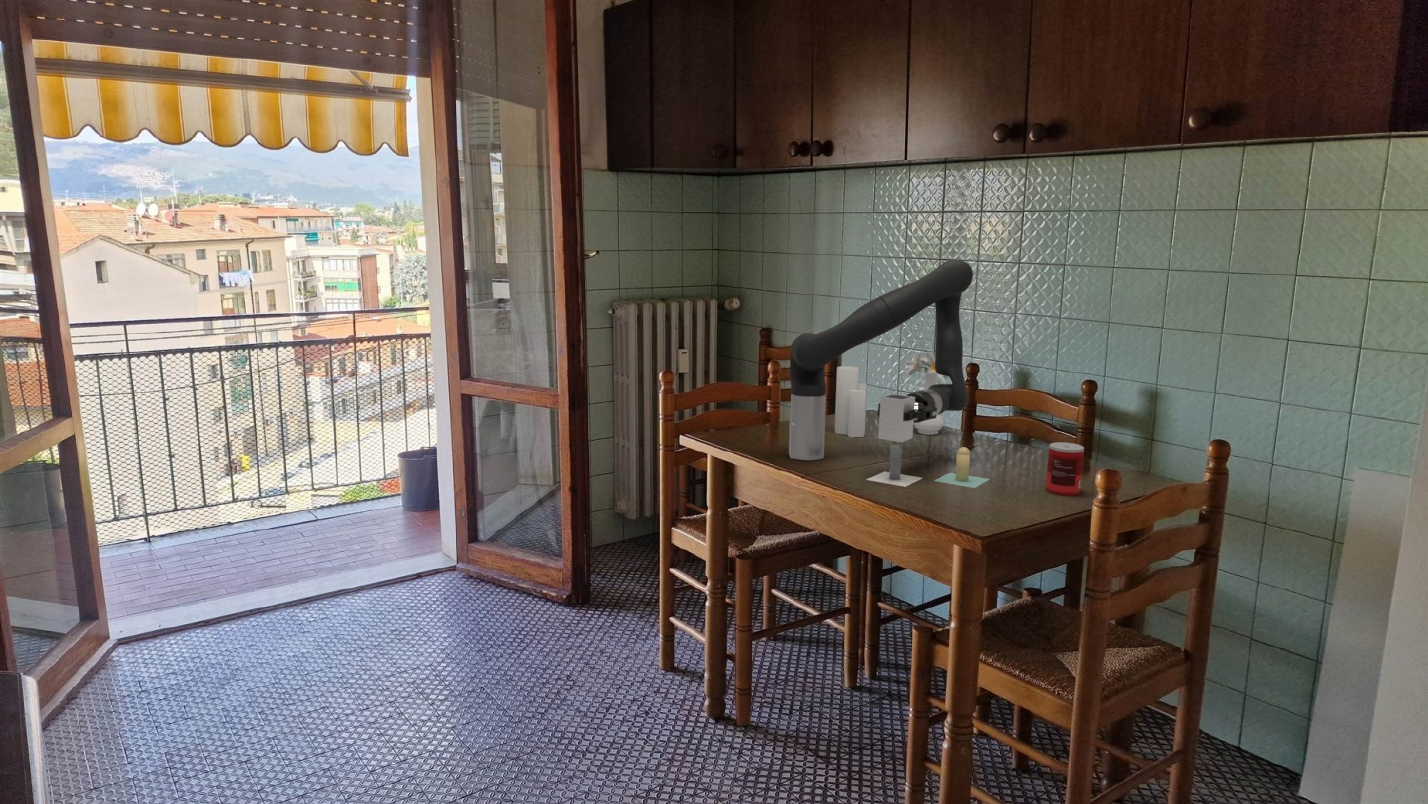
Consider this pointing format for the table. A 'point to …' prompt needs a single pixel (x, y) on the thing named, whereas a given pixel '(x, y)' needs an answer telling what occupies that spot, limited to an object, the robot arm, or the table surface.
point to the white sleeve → (895, 417)
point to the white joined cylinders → (850, 403)
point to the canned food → (1064, 468)
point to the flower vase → (930, 378)
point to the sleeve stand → (895, 471)
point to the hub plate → (967, 484)
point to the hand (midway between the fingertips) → (892, 414)
